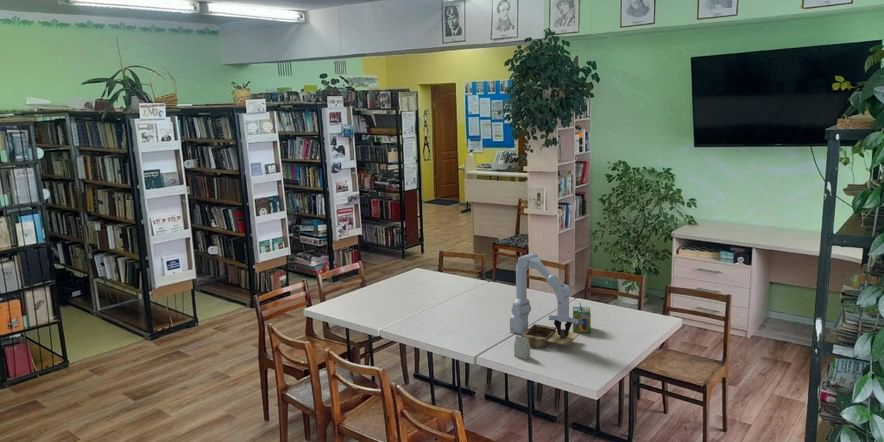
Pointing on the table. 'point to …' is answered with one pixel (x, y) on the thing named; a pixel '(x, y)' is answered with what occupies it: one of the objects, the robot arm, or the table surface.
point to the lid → (562, 337)
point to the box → (539, 335)
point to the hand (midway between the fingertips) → (563, 335)
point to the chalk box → (582, 319)
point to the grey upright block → (522, 347)
